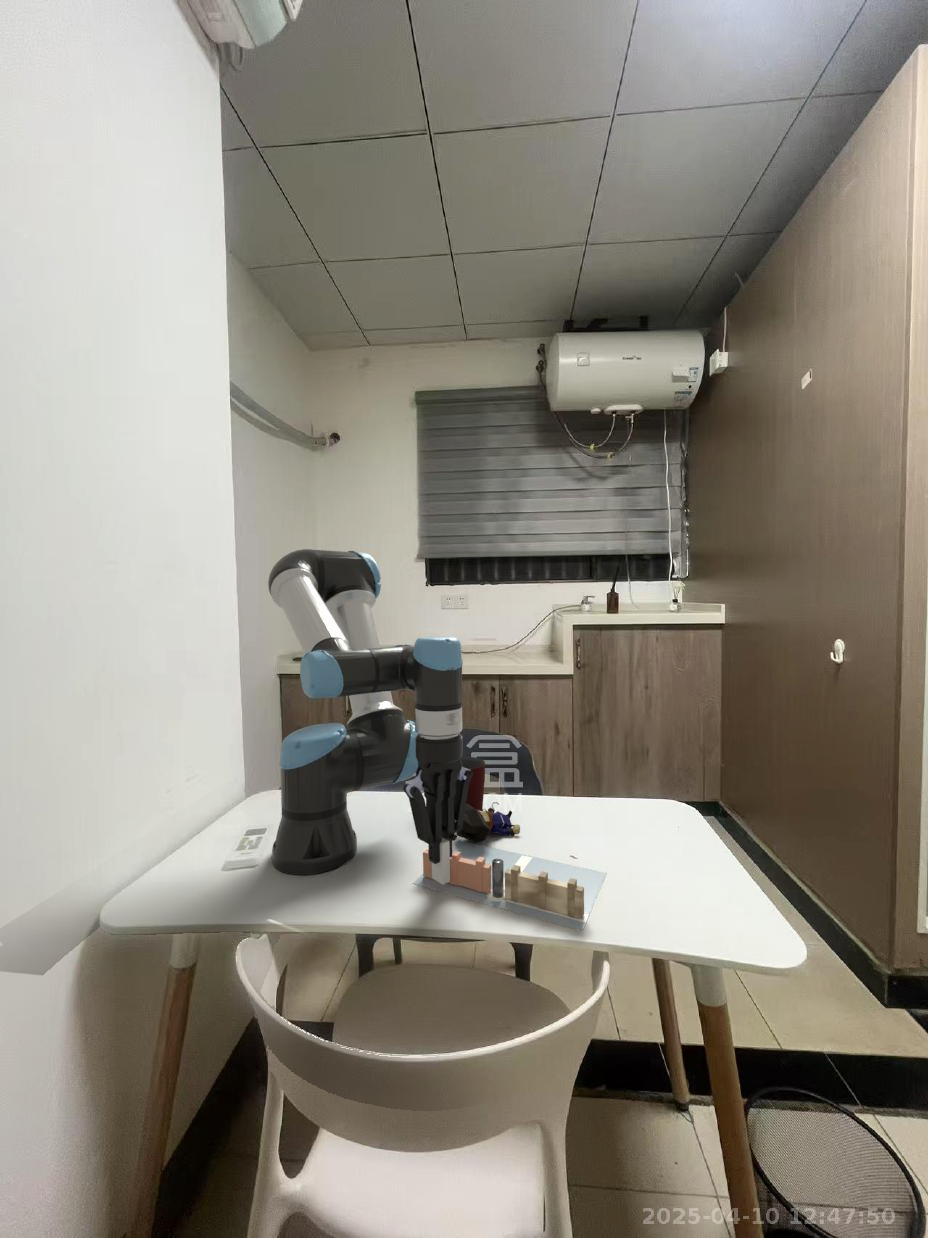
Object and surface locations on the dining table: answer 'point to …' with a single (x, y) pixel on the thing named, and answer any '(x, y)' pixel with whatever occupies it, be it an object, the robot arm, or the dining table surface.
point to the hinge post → (497, 878)
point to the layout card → (530, 866)
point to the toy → (485, 824)
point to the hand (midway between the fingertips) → (440, 879)
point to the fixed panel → (544, 892)
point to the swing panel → (464, 872)
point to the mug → (475, 781)
